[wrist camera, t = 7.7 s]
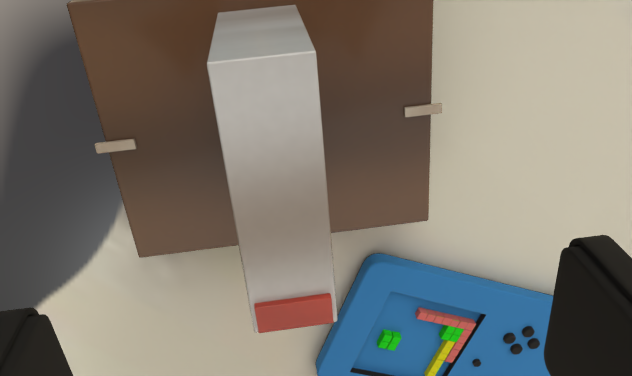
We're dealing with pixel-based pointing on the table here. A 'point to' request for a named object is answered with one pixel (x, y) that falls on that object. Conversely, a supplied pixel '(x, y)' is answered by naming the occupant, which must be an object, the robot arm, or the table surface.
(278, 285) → the white block
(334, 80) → the panel
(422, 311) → the handheld gaming device
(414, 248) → the table surface
